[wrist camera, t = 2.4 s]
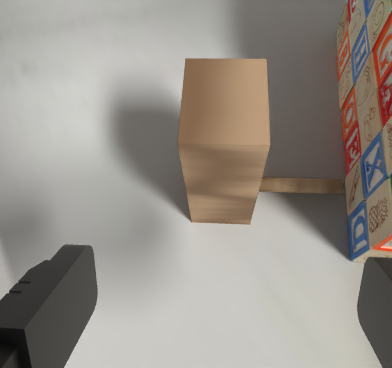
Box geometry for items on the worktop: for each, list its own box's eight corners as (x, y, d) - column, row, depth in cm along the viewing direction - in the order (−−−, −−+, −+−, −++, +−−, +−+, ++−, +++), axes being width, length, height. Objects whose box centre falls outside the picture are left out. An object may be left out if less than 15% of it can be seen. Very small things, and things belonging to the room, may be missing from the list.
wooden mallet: (331, 163, 26) (393, 59, 17) (339, 227, 23) (416, 148, 14) (195, 159, 26) (185, 58, 17) (191, 222, 24) (177, 143, 15)
